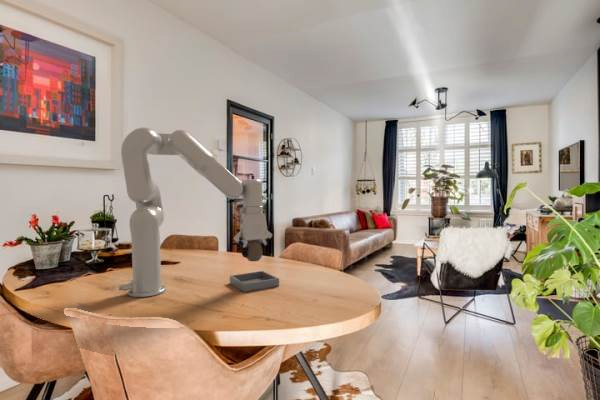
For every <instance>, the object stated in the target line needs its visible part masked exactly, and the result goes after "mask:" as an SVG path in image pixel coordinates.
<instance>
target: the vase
mask: <svg viewBox="0 0 600 400" xmlns="http://www.w3.org/2000/svg"><path fill="white" fill-rule="evenodd" d="M246 247H247V258H246V259H247V260H248V261H249V262H258V261H260V260H261V259H262V257H263V255H262V254H263V249H262V246H261V242H260V241H259V240H252V241H248V242H247V245H246Z"/></svg>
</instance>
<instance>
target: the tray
mask: <svg viewBox="0 0 600 400" xmlns="http://www.w3.org/2000/svg"><path fill="white" fill-rule="evenodd" d="M230 283H231V284H230ZM229 284H230V285H232V286H233V285H234V286H233V287H234V288H236V287H237V288H236V289H238V290H239V289H240V292H242V291H243V292H242V293H248V292H247V291H250V292H254V291H253V290H255V291H260V290H259V289H261V290H265V289H264V288H266V289H271V288H270V287H272V288H275V287H276V286H277V287H279V286H280V278H279V277H276V276H274V275H273V274H271V273H270V272H269V273H268V272H266V271H264V270H260V271H253V272H245V273H238V274H234V275H229ZM277 287H276V288H277Z"/></svg>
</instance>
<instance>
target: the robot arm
mask: <svg viewBox="0 0 600 400" xmlns="http://www.w3.org/2000/svg"><path fill="white" fill-rule="evenodd" d="M120 152H121V160H122V161H121V163H122V167H123V174H124V180H125V186H126V193H127V197H128V198H129V200H131V201H132V202H134V203H135V207H136V209H135V210H134V211H133V212H132V214H131V215H130V218H129V232H130V237H131V238H130V239H131V261H132V262H131V263H132V267H131V268H132V279H131V281H130V282H128V283H126V284H123V283H122V284H118V291H122V292H124V291H128V296H130V297H132V298H133V297H134V298H146V297H147V298H148V297H154V296H157V295H160V294H163V293H164V292H165V291H166V290H167V288H166V285H164V284H162V264H161V263H162V259H161V256H162V255H161V236H160V227H161V225H162V224H163V222H164V220H165V219H164V217H165V216H164V215H165V213H164V206H163V204H162V197H161V191H160V187H159V185H158V183H156V182H155V180H154V179H152V175H151V170H150V164H149V159H148V155H154V156H155V155H156V156H159V155H160V156H179V157H180V158H181V159H182V160H183V161H184V162H186V164H187V165H189V166H190V167H191V168H192V169H193V170H195V171H196V172H197V173H198V174H199V175H200V176H201V177H203V178H205V179H206V180H207V181H209V183H211V184H212V185H213V186H214V187H215V188H217V190H219V192H221V193H222V194H223V195H224V196H225V197H227V198H229V199H232V200H234V199H239V198H242V201H243V202H242V208H241V207H240V208H239V212H240V213H243V214H241V218H240V224H239V225H240V226H239V231H238V233H236V235H235V236H234V237H233V240H234V241H235V242H236V243H237V244H238V245H239V246H240V247H241V256H242V257H243V258H246V259H247V247H246V245H247V244H248V242H249V241H252V240H258V241H259V243H260V244H261V246H262V249H263V254H262V256H265V255H266V252H267V245H268V242H269V241H270V239H271V238H273V233H271V232H270V230H268V225H267V218H266V214H265V213H263V212H264V211H263V183H262V180H261V179H257V178H256V179H255V178H253V179H252V178H251V179H245V180H243V179H241V180H240V179H238V178H237V177H236V176H235V175H234V174H233V173H232V172H230V171H229V170H228V169H227V168H226V167H225V166H224V165H222V163H221V162H219V161H218V159H217V158H216V157H215V156H214V155H213V154H212V153H211V152H209V151H208V150H207V149H206V148H205V147H204V146H203V145H202V144H201V143H199V142H198V140H196V138H194V137H193V136H192V135H191V134H189V133H188V132H187V131H186V130H183V129H176V130H174V131H173V132H172V133H159V132H156V131H155V130H153V129H152V128H149V127H139V128H136V129H134V130H132V131H130V132H129V133H128V134H127V135H126V137H125V138H124V140H123V141H122V145H121V151H120ZM240 239H241V240H240Z"/></svg>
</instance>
